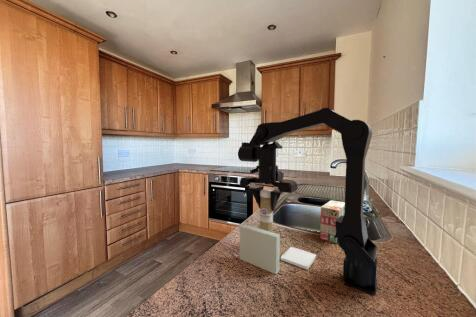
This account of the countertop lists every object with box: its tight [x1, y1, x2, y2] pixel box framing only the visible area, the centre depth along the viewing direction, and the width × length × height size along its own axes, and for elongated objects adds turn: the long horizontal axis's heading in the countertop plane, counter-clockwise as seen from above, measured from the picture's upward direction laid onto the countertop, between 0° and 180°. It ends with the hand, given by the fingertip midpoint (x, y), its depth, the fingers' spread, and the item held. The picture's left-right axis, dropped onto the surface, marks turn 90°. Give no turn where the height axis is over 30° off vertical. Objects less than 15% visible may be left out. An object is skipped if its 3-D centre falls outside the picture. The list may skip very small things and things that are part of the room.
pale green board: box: [239, 223, 281, 275], centre depth 56 cm, size 12×2×10 cm, turn 53°
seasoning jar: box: [258, 188, 274, 232], centre depth 65 cm, size 5×5×13 cm
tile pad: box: [280, 246, 317, 271], centre depth 59 cm, size 8×8×1 cm
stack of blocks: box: [319, 200, 345, 245], centre depth 78 cm, size 21×6×12 cm, turn 139°
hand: (266, 209), depth 65 cm, fingers closed on seasoning jar, 4 cm apart
